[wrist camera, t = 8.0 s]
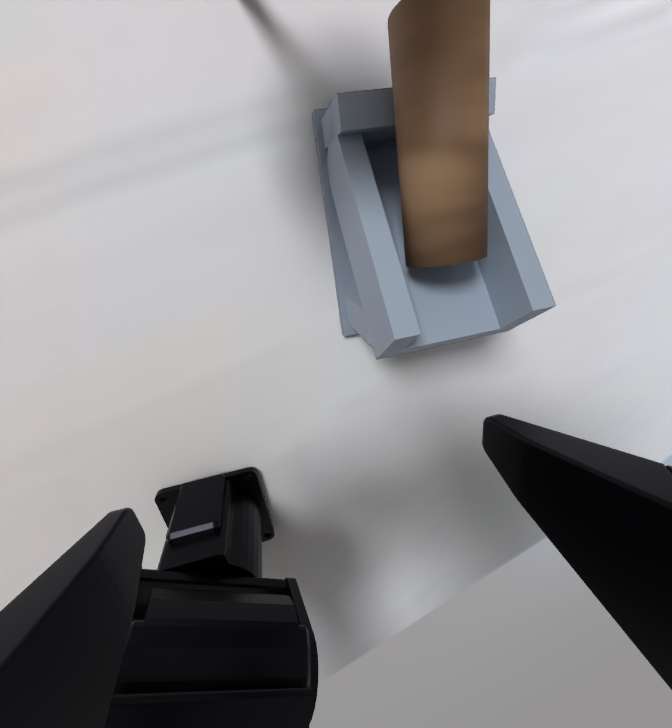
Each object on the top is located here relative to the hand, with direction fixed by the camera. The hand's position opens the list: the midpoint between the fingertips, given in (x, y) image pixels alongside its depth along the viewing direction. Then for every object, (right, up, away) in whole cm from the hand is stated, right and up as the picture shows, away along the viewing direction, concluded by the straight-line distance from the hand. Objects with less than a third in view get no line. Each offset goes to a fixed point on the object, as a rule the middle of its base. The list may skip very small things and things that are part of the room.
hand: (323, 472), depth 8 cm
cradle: (+4, +10, +11) cm, 15 cm away
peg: (+5, +7, +5) cm, 10 cm away
